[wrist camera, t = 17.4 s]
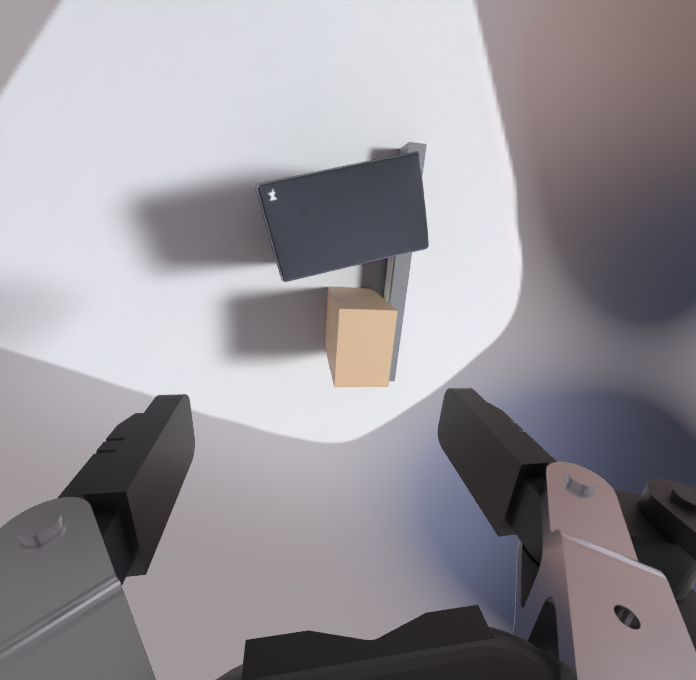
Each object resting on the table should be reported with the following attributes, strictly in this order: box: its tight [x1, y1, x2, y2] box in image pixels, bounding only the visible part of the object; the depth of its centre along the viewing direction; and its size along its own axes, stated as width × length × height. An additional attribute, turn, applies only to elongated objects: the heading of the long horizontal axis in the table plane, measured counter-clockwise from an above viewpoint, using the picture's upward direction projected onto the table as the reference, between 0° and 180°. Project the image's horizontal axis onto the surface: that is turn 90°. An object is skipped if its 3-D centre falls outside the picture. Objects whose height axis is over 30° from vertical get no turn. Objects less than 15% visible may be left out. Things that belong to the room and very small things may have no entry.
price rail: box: [384, 142, 426, 381], centre depth 32 cm, size 22×2×2 cm, turn 176°
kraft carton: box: [325, 287, 398, 387], centre depth 30 cm, size 5×6×9 cm
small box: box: [256, 151, 428, 282], centre depth 25 cm, size 11×6×10 cm, turn 102°
